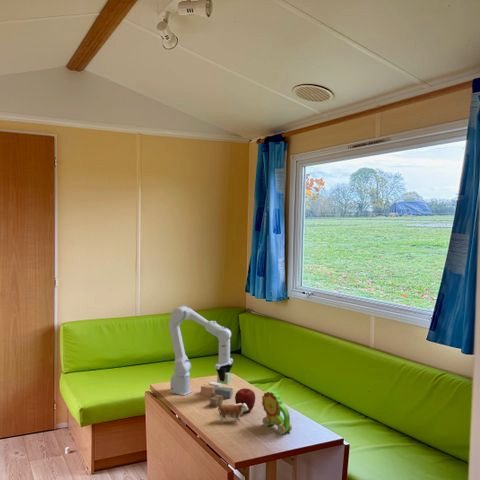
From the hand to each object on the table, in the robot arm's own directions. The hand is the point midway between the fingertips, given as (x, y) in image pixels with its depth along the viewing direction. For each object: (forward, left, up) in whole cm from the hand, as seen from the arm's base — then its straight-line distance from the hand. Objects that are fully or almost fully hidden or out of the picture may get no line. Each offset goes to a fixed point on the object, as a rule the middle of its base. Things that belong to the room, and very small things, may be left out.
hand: (223, 379), depth 249 cm
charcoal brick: (0, 0, -9) cm, 9 cm away
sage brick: (0, 0, -2) cm, 2 cm away
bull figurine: (+19, -24, -9) cm, 32 cm away
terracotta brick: (-9, -1, -9) cm, 12 cm away
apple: (+18, -11, -9) cm, 23 cm away
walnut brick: (+3, -12, -9) cm, 15 cm away
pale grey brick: (-8, +5, -9) cm, 13 cm away
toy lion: (+38, -21, -9) cm, 44 cm away
